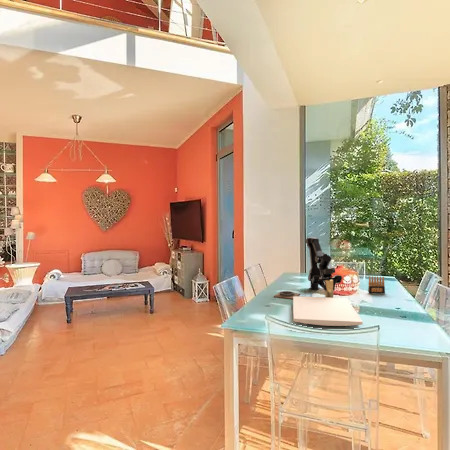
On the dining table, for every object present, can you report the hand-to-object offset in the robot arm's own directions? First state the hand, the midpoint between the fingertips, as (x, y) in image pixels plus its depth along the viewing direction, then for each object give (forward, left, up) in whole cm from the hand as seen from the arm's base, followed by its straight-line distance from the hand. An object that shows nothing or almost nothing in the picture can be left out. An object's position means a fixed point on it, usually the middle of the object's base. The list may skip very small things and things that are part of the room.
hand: (330, 290), depth 210 cm
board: (+33, +3, -7) cm, 34 cm away
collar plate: (+1, -29, -7) cm, 29 cm away
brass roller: (-1, -1, -7) cm, 7 cm away
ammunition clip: (-34, +24, -7) cm, 43 cm away
